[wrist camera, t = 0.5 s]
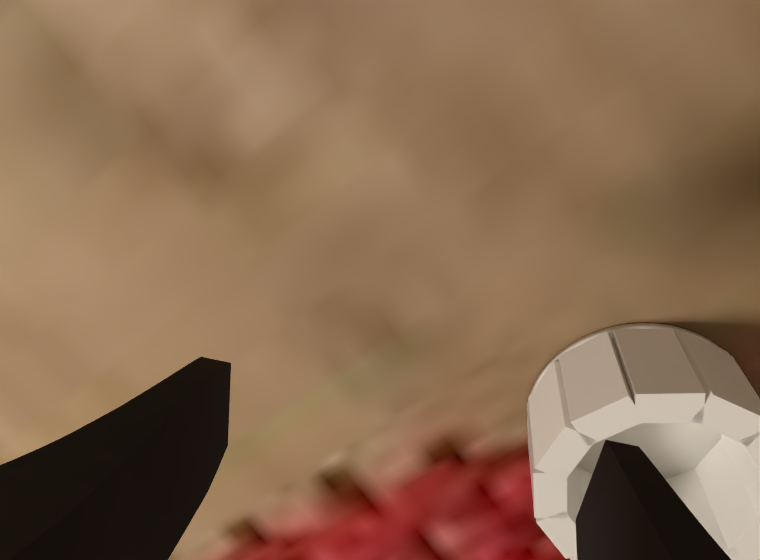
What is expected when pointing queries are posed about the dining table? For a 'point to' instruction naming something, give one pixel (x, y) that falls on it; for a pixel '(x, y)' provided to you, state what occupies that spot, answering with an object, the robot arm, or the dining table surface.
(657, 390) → the bowl
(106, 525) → the robot arm
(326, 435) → the dining table surface
